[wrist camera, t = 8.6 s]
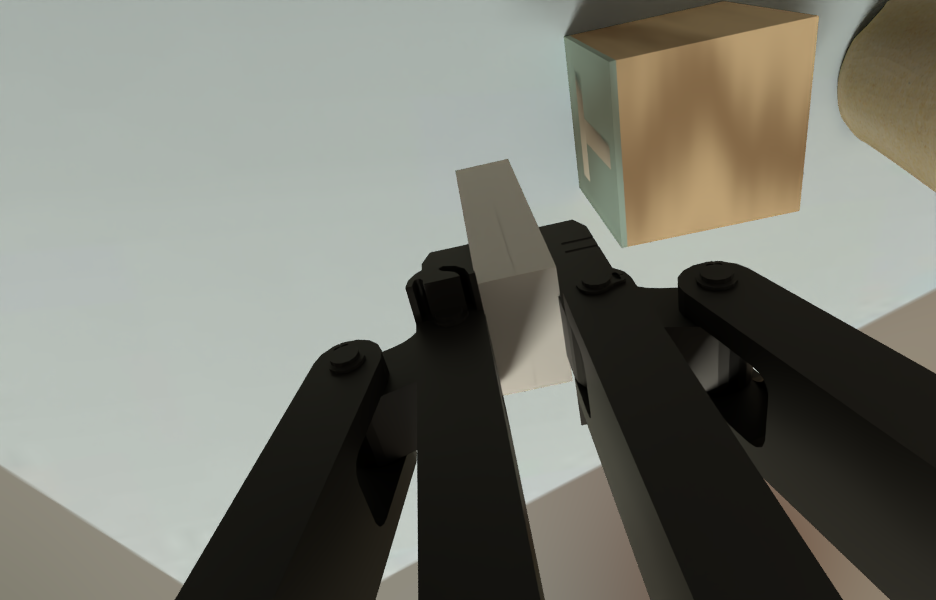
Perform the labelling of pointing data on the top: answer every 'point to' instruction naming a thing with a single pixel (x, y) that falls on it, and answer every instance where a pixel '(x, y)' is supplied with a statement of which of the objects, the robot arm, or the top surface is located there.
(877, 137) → the flower pot
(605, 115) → the tan cube
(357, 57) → the top surface
